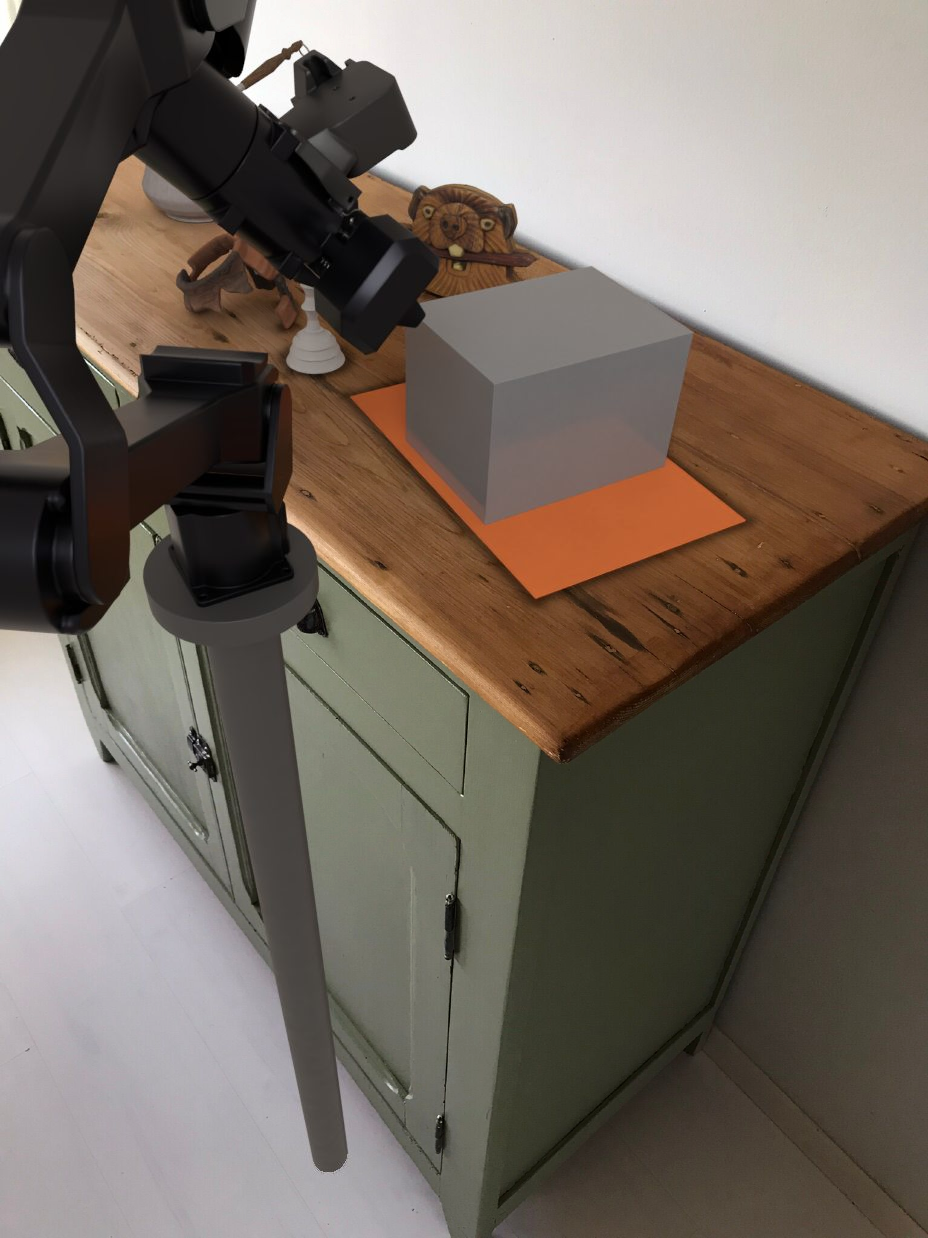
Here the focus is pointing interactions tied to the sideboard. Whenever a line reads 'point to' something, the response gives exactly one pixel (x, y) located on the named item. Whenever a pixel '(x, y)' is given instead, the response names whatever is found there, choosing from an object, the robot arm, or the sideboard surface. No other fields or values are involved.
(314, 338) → the chalice
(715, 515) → the towel
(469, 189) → the wooden carving
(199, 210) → the coffee pot
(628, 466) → the stone block
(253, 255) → the leather belt
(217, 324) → the sideboard surface
